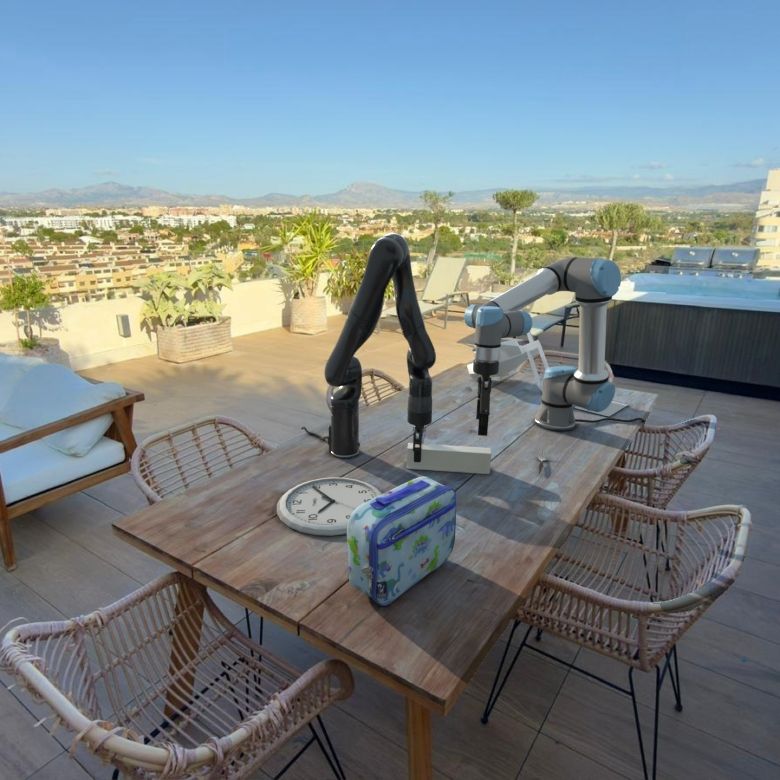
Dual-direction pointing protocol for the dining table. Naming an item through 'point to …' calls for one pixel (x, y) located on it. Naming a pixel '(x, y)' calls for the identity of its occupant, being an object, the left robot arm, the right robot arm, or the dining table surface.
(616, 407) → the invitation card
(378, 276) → the left robot arm
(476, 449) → the beam
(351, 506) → the wall clock
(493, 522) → the dining table surface
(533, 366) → the white plastic object
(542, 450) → the fork
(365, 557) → the lunch box
